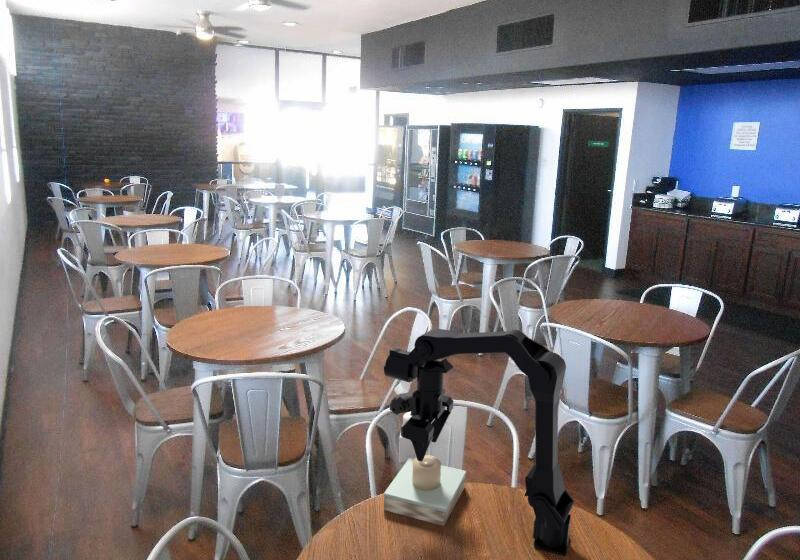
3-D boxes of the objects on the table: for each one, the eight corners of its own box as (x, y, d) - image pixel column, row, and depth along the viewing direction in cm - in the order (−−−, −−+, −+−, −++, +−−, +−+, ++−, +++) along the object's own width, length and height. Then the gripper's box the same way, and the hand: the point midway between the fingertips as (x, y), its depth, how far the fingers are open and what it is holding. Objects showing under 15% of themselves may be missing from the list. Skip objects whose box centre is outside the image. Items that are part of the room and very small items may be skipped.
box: (464, 487, 141) (465, 475, 140) (443, 526, 126) (444, 513, 125) (409, 473, 146) (410, 462, 145) (383, 509, 131) (384, 497, 130)
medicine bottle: (428, 451, 157) (429, 409, 154) (426, 465, 150) (428, 421, 147) (401, 449, 157) (402, 407, 155) (398, 463, 150) (399, 419, 148)
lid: (466, 473, 140) (466, 470, 139) (446, 512, 126) (446, 509, 125) (409, 460, 145) (409, 457, 145) (383, 496, 131) (383, 493, 131)
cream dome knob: (443, 477, 137) (444, 458, 135) (435, 493, 131) (435, 473, 130) (418, 471, 139) (418, 452, 138) (408, 486, 133) (408, 466, 132)
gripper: (410, 366, 141) (408, 426, 145) (379, 395, 124) (377, 463, 128) (455, 374, 137) (452, 435, 141) (429, 405, 120) (426, 474, 124)
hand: (427, 451), depth 133 cm, fingers open, 9 cm apart
